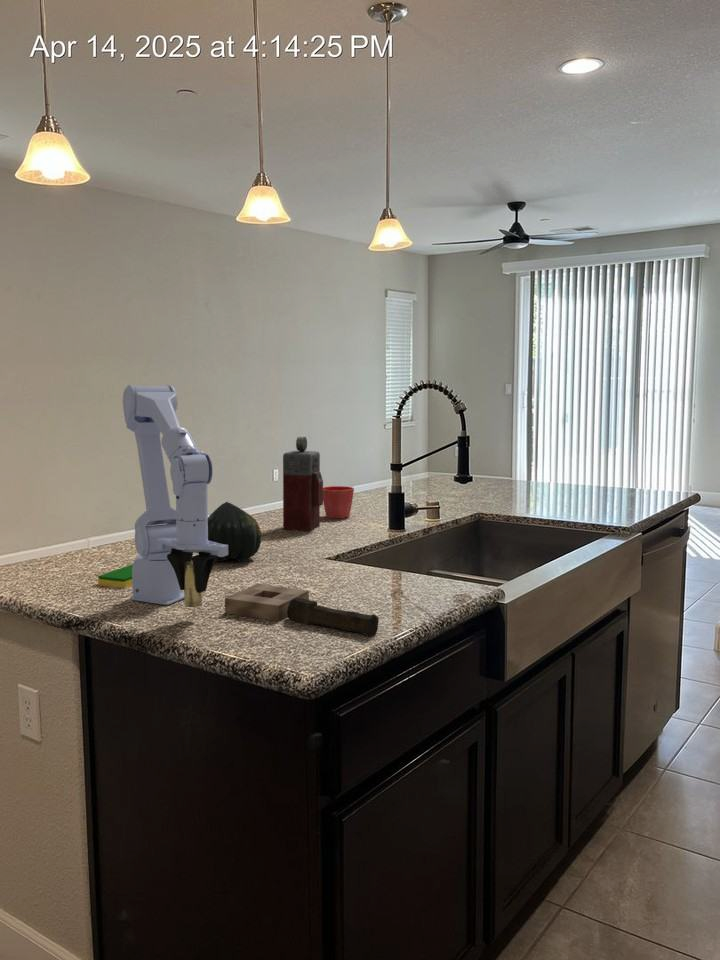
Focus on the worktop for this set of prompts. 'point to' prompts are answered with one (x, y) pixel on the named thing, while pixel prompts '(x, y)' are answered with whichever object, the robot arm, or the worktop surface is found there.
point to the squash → (234, 532)
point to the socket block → (263, 601)
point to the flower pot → (337, 501)
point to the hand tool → (331, 617)
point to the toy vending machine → (302, 488)
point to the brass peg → (191, 587)
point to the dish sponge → (117, 578)
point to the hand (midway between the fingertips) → (193, 590)
